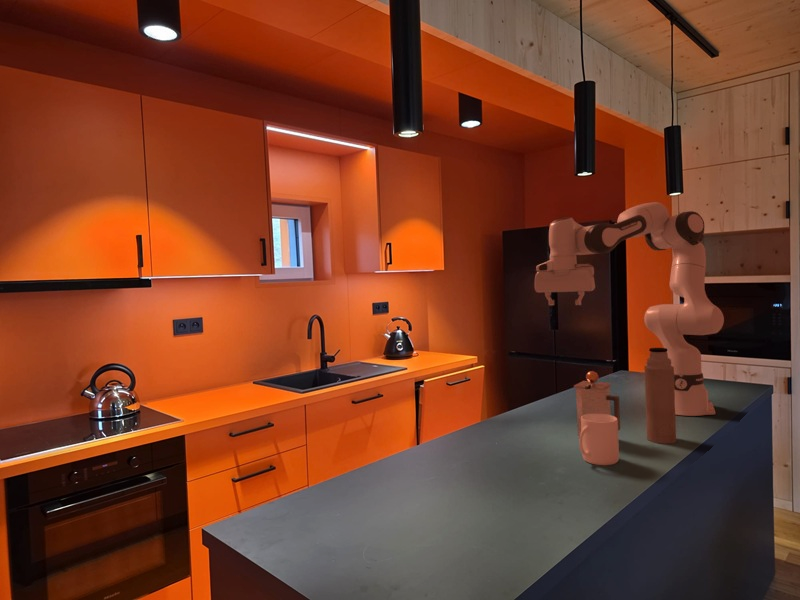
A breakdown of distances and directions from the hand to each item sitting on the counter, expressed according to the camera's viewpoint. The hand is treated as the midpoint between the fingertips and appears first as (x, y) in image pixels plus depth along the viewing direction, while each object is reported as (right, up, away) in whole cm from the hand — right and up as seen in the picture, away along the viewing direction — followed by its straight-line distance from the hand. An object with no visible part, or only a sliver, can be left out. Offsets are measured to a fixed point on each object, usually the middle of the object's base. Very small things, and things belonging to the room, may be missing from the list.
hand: (564, 305), depth 177 cm
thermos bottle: (+23, -41, -21) cm, 51 cm away
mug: (-2, -43, -36) cm, 56 cm away
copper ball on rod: (+4, -38, -17) cm, 42 cm away
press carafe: (+5, -41, -18) cm, 46 cm away
